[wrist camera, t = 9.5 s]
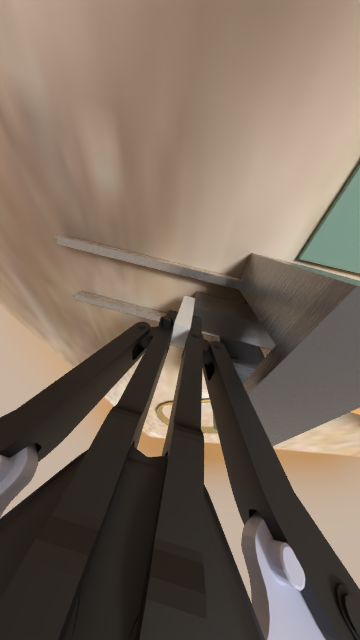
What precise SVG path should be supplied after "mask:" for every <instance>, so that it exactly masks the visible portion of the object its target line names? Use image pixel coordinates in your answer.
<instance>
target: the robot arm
mask: <svg viewBox="0 0 360 640" xmlns="http://www.w3.org/2000/svg"><path fill="white" fill-rule="evenodd" d="M194 304H195V298H192V297H188V296H184V298H183V301H182V304H181V306H180V309H179V312H176V311H172V310H170V311H168V313H167V315H166V316H162V317H161V318H160V323H159V326H158V327H150V325H149V324H148V323H146V322H138V323H136V324H135V325H133V326H132V327H131V328H129V329H128V330H126V331H125V332H124V333H122V334H121V335H119V336H118V337H117V338H115V339H114V340H112V341H111V342H110V343H108V344H107V345H106V346H104V347H103V348H101V349H100V350H99V351H97V352H96V353H94V354H93V355H92V356H90V357H89V358H87V359H86V360H85V361H83V362H82V363H80V364H79V365H78V366H76V367H75V368H73V369H72V370H71V371H69V372H68V373H66V374H65V375H64V376H62V377H61V378H60V379H58V380H57V381H55V382H54V383H53V384H51V385H50V386H48V387H47V388H46V389H44V390H43V391H41V392H40V393H39V394H37V395H36V396H35V397H33V398H32V399H30V400H29V401H27V402H26V403H25V404H23V405H22V406H21V407H19V408H18V409H16V410H14V411H12V412H11V413H9V414H7V415H4V416H2V417H1V418H0V517H1V515H2V513H3V511H4V510H5V509H6V507H7V506H8V505H9V503H10V502H11V501H12V500H13V499H14V498H15V496H17V495H18V493H19V492H20V491H21V490H22V489H23V488H24V487H25V486H26V485H28V483H29V482H30V481H31V480H32V478H33V476H34V473H35V471H36V469H37V466H38V462H39V461H40V460H41V459H43V458H44V457H45V456H46V455H48V453H50V452H51V451H52V450H53V449H54V448H55V447H56V446H58V445H59V444H60V443H61V442H62V441H63V440H64V439H65V438H66V437H67V436H68V435H69V434H70V433H71V432H72V431H73V429H74V428H75V427H76V426H77V425H78V424H79V423H80V422H81V421H82V420H83V419H84V418H85V416H86V415H87V414H88V413H89V412H90V411H91V410H92V409H93V408H94V407H95V406H96V405H97V404H98V402H99V401H100V400H101V399H102V398H103V397H104V396H105V395H106V394H107V393H108V392H109V391H110V389H111V388H112V387H113V386H114V385H115V384H116V383H117V382H118V381H119V380H120V379H121V378H122V377H123V375H124V374H125V373H126V372H127V371H128V370H129V369H130V368H131V367H132V366H133V365H134V364H135V362H136V361H137V360H138V359H139V358H140V357H141V356H142V355H143V354H144V355H143V357H142V359H141V361H140V362H139V364H138V366H137V368H136V370H135V372H134V374H133V376H132V378H131V379H130V381H129V383H128V385H127V387H126V389H125V391H124V393H123V395H122V396H121V398H120V400H119V402H118V404H117V405H116V406H114V407H113V408H112V409H111V410H110V412H109V414H108V415H107V417H106V419H105V421H104V422H103V424H102V426H101V428H100V430H99V431H98V433H97V435H96V437H95V439H94V440H93V442H92V444H91V446H90V448H89V449H88V450H87V451H85V452H84V453H82V454H81V455H79V456H78V457H77V458H75V459H74V460H73V461H72V462H70V463H69V464H68V465H67V466H65V467H64V468H63V469H62V470H60V471H59V472H58V473H57V474H55V475H54V476H53V477H52V478H50V479H49V480H48V481H47V482H45V483H44V484H43V485H42V486H40V487H39V488H38V489H37V490H36V491H34V492H33V493H32V494H31V495H29V496H28V497H27V498H26V499H24V500H23V501H22V502H21V503H19V504H18V505H17V506H16V507H14V508H13V509H12V510H11V511H9V512H8V513H7V514H6V515H4V516H3V517H2V518H1V519H0V640H360V589H359V588H358V586H357V585H356V583H355V582H354V580H353V579H352V577H351V576H350V574H349V573H348V571H347V570H346V568H345V567H344V565H343V564H342V562H341V561H340V559H339V558H338V557H337V555H336V554H335V552H334V551H333V549H332V548H331V546H330V545H329V543H328V542H327V540H326V539H325V537H324V536H323V534H322V533H321V531H320V530H319V528H318V527H317V525H316V524H315V522H314V521H313V519H312V518H311V517H310V515H309V513H308V512H307V510H306V509H305V507H304V506H303V504H302V503H301V501H300V500H299V499H298V497H297V496H296V494H295V493H294V491H293V489H292V487H291V485H290V482H289V480H288V478H287V476H286V474H285V472H284V470H283V468H282V466H281V464H280V461H279V459H278V457H277V455H276V453H275V451H274V449H273V447H272V445H271V443H270V440H269V438H268V436H267V434H266V432H265V430H264V428H263V426H262V424H261V422H260V419H259V417H258V415H257V413H256V411H255V409H254V407H253V405H252V403H251V401H250V398H249V396H248V394H247V392H246V390H245V388H244V386H243V384H242V382H241V380H240V377H239V375H238V373H237V371H236V369H235V367H234V365H233V363H232V361H231V359H230V357H229V354H228V352H227V350H226V348H225V346H224V345H223V344H222V343H221V342H219V341H211V343H210V342H208V341H207V340H205V339H204V338H203V335H202V319H201V318H200V317H196V316H193V310H194ZM169 345H173V346H176V347H180V348H184V351H183V354H182V357H181V358H182V360H181V365H180V370H179V375H178V380H177V385H176V390H175V395H174V400H173V405H172V410H171V415H170V421H169V426H168V431H167V436H166V440H165V444H164V448H163V453H162V456H159V457H146V456H145V455H144V454H142V453H141V452H140V451H139V450H137V446H138V443H139V439H140V436H141V432H142V429H143V425H144V422H145V419H146V416H147V413H148V410H149V407H150V404H151V401H152V398H153V395H154V392H155V389H156V386H157V383H158V380H159V377H160V374H161V371H162V368H163V365H164V362H165V359H166V356H167V353H168V350H169ZM202 368H203V372H204V376H205V381H206V385H207V389H208V393H209V397H210V401H211V406H212V410H213V414H214V418H215V422H216V426H217V431H218V435H219V439H220V443H221V447H222V451H223V455H224V460H225V464H226V468H227V472H228V476H229V480H230V484H231V488H232V491H233V495H234V498H235V501H236V504H237V507H238V510H239V513H240V516H241V518H242V521H243V523H244V528H243V533H242V543H241V546H242V552H243V555H244V558H245V562H246V566H247V569H248V573H249V577H250V584H251V593H252V594H251V595H252V604H251V601H250V599H249V596H248V594H247V591H246V589H245V586H244V584H243V581H242V578H241V576H240V573H239V571H238V568H237V565H236V563H235V561H234V558H233V555H232V552H231V550H230V547H229V545H228V542H227V540H226V537H225V534H224V532H223V529H222V527H221V524H220V521H219V519H218V516H217V514H216V511H215V509H214V506H213V503H212V501H211V498H210V496H209V493H208V491H207V489H206V487H205V485H204V436H203V432H202V430H201V398H202Z"/></svg>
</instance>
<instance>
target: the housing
mask: <svg viewBox="0 0 360 640" xmlns="http://www.w3.org/2000/svg"><path fill="white" fill-rule="evenodd" d="M56 237H57V240H58V244H59V245H62V246H66V247H70V248H74V249H78V250H82V251H86V252H90V253H94V254H98V255H102V256H106V257H110V258H114V259H118V260H122V261H126V262H130V263H134V264H138V265H142V266H146V267H150V268H154V269H158V270H162V271H166V272H170V273H174V274H178V275H182V276H186V277H190V278H194V279H198V280H202V281H206V282H210V283H214V284H218V285H222V286H226V287H230V288H234V289H238V290H240V292H241V293H242V295H243V296H244V298H245V299H246V301H247V303H248V304H249V306H250V307H251V309H252V310H253V312H254V313H255V315H256V316H257V318H258V319H259V321H260V322H261V324H262V325H263V327H264V328H265V330H266V331H267V333H268V334H269V336H270V337H271V339H272V340H273V342H274V343H275V345H276V346H275V347H274V348H273V349H272V350H271V352H270V353H269V354H268V355H267V356H266V357H264V355H263V353H262V351H261V349H260V347H259V346H256V345H252V344H249V343H245V342H241V341H237V340H234V339H230V338H226V337H222V336H218V335H215V334H211V333H207V332H203V331H202V333H203V334H207V335H211V336H213V339H212V341H219V342H221V343H222V344H223V345H224V346H225V348H226V350H227V352H228V354H229V357H230V359H231V361H232V363H233V365H234V367H235V369H236V371H237V373H238V375H239V377H240V380H241V382H242V384H243V386H244V388H245V390H246V392H247V394H248V396H249V398H250V401H251V403H252V405H253V407H254V409H255V411H256V413H257V415H258V417H259V419H260V422H261V424H262V426H263V428H264V430H265V432H266V434H267V436H268V438H269V440H270V443H271V445H272V446H274V445H276V444H279V443H281V442H283V441H285V440H288V439H290V438H292V437H295V436H297V435H299V434H301V433H304V432H306V431H308V430H310V429H313V428H315V427H317V426H319V425H322V424H324V423H326V422H328V421H331V420H333V419H335V418H338V417H340V416H342V415H344V414H347V413H349V412H351V411H353V410H356V409H358V408H360V281H358V280H354V279H350V278H347V277H343V276H339V275H336V274H332V273H328V272H325V271H321V270H317V269H314V268H310V267H306V266H303V265H299V264H294V263H290V262H286V261H282V260H278V259H274V258H269V257H265V256H261V255H257V254H253V253H251V256H250V258H249V260H248V262H247V264H246V267H245V269H244V271H243V273H242V275H241V277H240V279H239V278H235V277H231V276H227V275H223V274H219V273H215V272H211V271H207V270H203V269H199V268H195V267H191V266H187V265H183V264H179V263H175V262H171V261H167V260H162V259H158V258H154V257H150V256H146V255H142V254H138V253H134V252H130V251H126V250H122V249H118V248H114V247H110V246H106V245H102V244H98V243H94V242H90V241H86V240H81V239H77V238H73V237H69V236H56ZM73 295H74V298H75V300H78V301H82V302H86V303H90V304H93V305H97V306H101V307H105V308H108V309H112V310H116V311H120V312H124V313H127V314H131V315H135V316H139V317H143V318H146V319H150V320H154V321H158V322H160V318H161V317H162V316H166V315H167V313H164V312H160V311H156V310H152V309H148V308H144V307H141V306H137V305H133V304H129V303H125V302H121V301H118V300H114V299H110V298H106V297H102V296H98V295H95V294H91V293H87V292H83V291H79V292H77V293H75V294H73ZM213 423H214V429H216V430H217V426H216V422H215V418H214V414H213Z"/></svg>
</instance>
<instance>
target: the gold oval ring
mask: <svg viewBox="0 0 360 640" xmlns="http://www.w3.org/2000/svg"><path fill="white" fill-rule="evenodd" d="M206 402H211V401H210V399H201V403H206ZM165 405H173V402H167V403H164V404H162V405H161V406H160V407H159V408H158V409H157V411H156V414H157V417H158V418H159V419H160V420H161V421H162V422H163V423H165V424H166V425H168V426H169V421H170V420H169V419H168V418H167V417H165V416H164V414H163V413H162V408H163V407H164V406H165ZM201 430H202V432H203V433H218V431H217V430H216V429H214V427H201Z"/></svg>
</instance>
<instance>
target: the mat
mask: <svg viewBox="0 0 360 640" xmlns="http://www.w3.org/2000/svg"><path fill="white" fill-rule="evenodd" d="M297 259H300V260H304V261H309V262H313V263H317V264H321V265H325V266H330V267H334V268H338V269H342V270H346V271H351V272H355V273H359V274H360V163H359V165H358V166H357V168H356V169H355V171H354V173H353V174H352V176H351V177H350V179H349V180H348V182H347V183H346V185H345V186H344V188H343V189H342V191H341V192H340V194H339V196H338V197H337V199H336V200H335V202H334V203H333V205H332V206H331V208H330V209H329V211H328V212H327V214H326V215H325V217H324V219H323V220H322V222H321V223H320V225H319V226H318V228H317V229H316V231H315V232H314V234H313V235H312V237H311V238H310V240H309V242H308V243H307V245H306V246H305V248H304V249H303V251H302V252H301V254H300V255H299V257H298V258H297Z"/></svg>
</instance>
